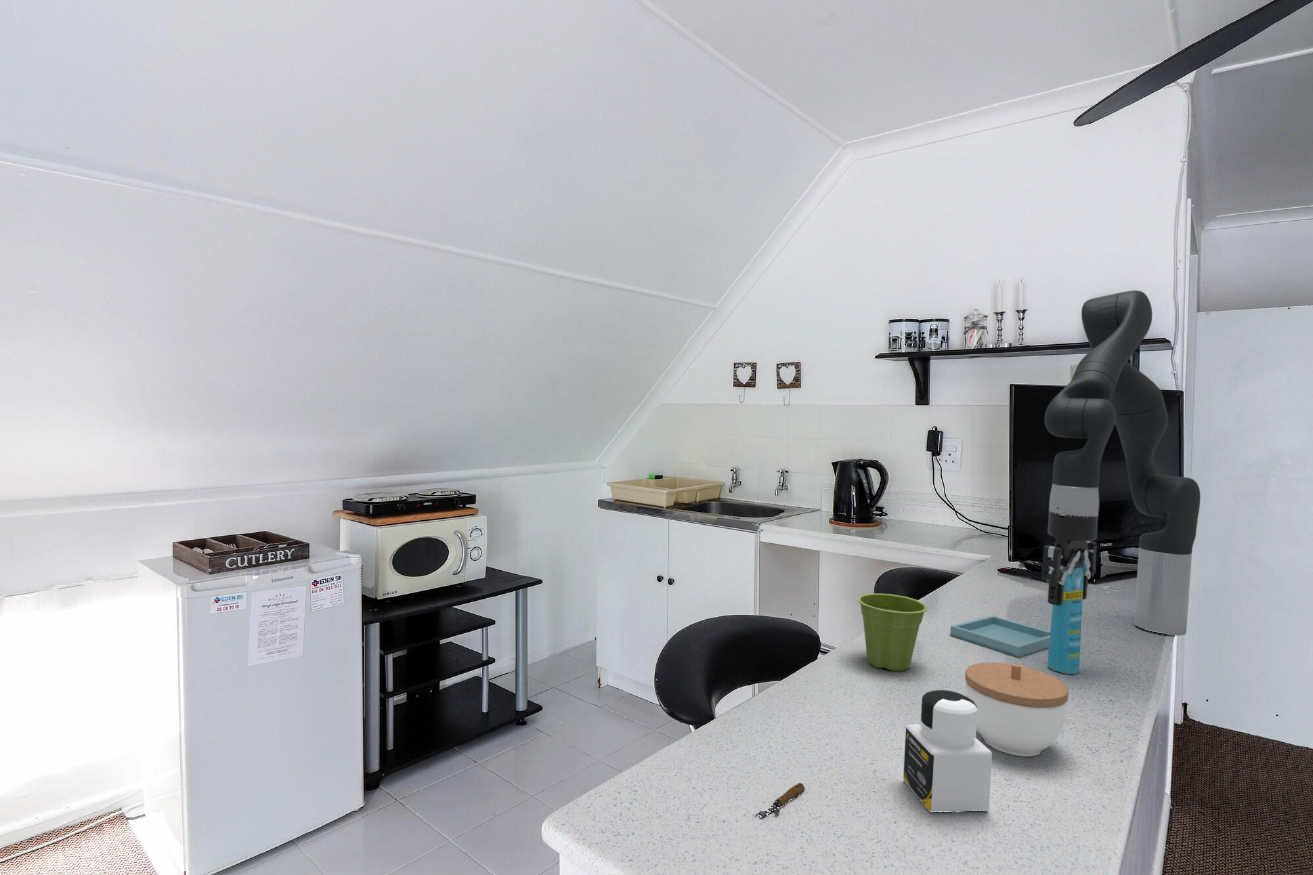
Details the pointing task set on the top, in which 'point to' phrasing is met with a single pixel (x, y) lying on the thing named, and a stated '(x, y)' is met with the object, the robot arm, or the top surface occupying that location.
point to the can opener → (785, 798)
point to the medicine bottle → (947, 755)
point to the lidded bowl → (1016, 706)
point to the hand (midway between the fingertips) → (1067, 601)
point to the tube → (1067, 626)
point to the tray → (1002, 635)
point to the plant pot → (890, 629)
